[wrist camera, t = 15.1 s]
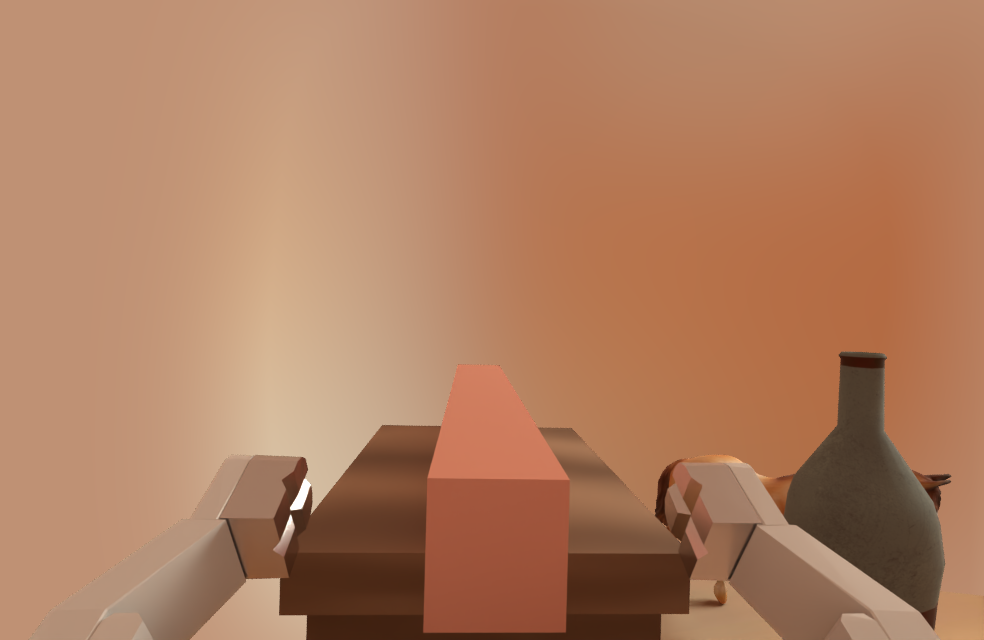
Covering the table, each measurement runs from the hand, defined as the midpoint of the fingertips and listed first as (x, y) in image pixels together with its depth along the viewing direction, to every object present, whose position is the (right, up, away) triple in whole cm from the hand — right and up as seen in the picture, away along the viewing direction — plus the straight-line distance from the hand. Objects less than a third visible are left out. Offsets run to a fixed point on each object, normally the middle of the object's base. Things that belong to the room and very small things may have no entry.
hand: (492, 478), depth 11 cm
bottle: (+26, -29, +24) cm, 46 cm away
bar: (0, -2, +9) cm, 9 cm away
